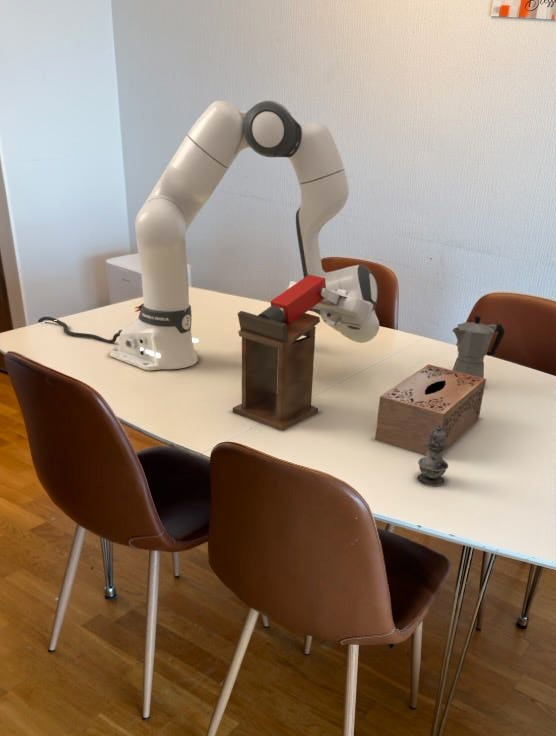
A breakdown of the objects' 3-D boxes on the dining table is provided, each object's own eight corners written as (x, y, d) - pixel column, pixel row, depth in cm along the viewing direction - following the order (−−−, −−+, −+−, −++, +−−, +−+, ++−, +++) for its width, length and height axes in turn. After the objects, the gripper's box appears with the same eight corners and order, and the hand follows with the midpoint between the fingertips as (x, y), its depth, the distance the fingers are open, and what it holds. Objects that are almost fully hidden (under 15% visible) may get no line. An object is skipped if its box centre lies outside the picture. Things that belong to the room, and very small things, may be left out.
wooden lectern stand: (271, 395, 170) (273, 299, 158) (318, 412, 164) (324, 313, 152) (232, 412, 160) (232, 311, 148) (281, 430, 154) (284, 326, 142)
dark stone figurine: (413, 472, 143) (421, 416, 136) (442, 473, 143) (451, 418, 137) (418, 486, 138) (427, 430, 131) (448, 487, 138) (458, 431, 132)
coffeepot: (453, 392, 182) (465, 322, 173) (435, 379, 189) (446, 311, 180) (504, 388, 188) (517, 320, 178) (485, 375, 195) (497, 309, 186)
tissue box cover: (422, 403, 174) (428, 364, 169) (478, 418, 168) (486, 378, 163) (375, 439, 154) (379, 396, 149) (436, 458, 149) (443, 414, 143)
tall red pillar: (310, 314, 164) (312, 273, 159) (325, 318, 162) (328, 277, 157) (255, 331, 149) (255, 287, 145) (271, 336, 148) (272, 292, 143)
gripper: (308, 287, 173) (278, 265, 161) (379, 306, 164) (353, 283, 152) (299, 312, 174) (269, 292, 162) (370, 332, 165) (343, 312, 153)
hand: (310, 288), depth 157 cm, fingers closed on tall red pillar, 4 cm apart
